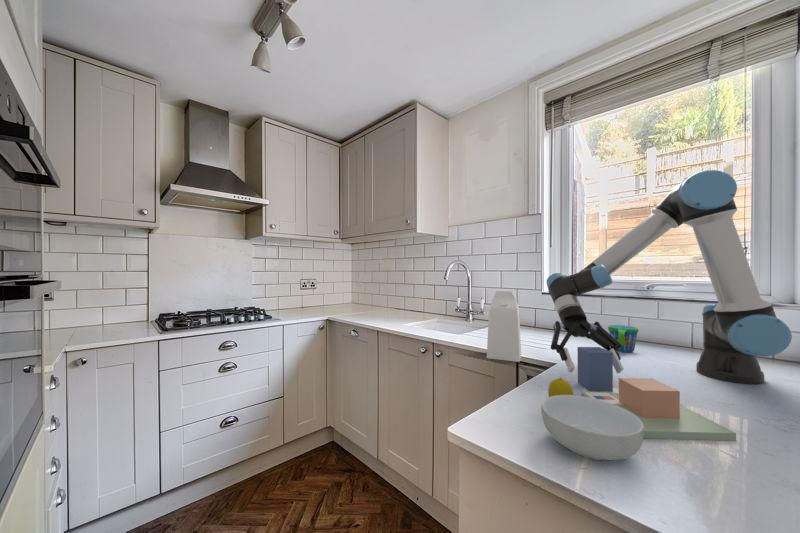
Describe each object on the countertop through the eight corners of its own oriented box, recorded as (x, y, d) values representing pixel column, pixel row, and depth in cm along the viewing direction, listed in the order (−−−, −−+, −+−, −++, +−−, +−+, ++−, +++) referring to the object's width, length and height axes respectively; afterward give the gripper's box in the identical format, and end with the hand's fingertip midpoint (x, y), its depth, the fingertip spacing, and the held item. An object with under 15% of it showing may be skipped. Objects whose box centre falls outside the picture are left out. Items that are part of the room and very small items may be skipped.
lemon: (543, 408, 77) (543, 375, 77) (559, 404, 80) (559, 372, 80) (562, 417, 72) (562, 383, 72) (579, 413, 74) (579, 379, 75)
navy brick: (599, 383, 94) (599, 347, 94) (612, 391, 88) (612, 352, 88) (577, 383, 94) (577, 346, 95) (589, 391, 88) (589, 352, 88)
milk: (521, 354, 127) (520, 290, 127) (519, 361, 116) (519, 292, 116) (490, 351, 132) (490, 289, 132) (486, 358, 121) (486, 291, 121)
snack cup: (612, 345, 142) (612, 323, 142) (641, 349, 134) (641, 326, 134) (603, 351, 131) (603, 327, 131) (634, 356, 123) (634, 330, 123)
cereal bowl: (603, 488, 49) (603, 443, 49) (523, 436, 64) (523, 402, 64) (665, 461, 56) (665, 422, 56) (579, 420, 71) (579, 389, 71)
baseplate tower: (658, 399, 82) (658, 370, 83) (736, 440, 63) (735, 403, 63) (581, 397, 83) (581, 369, 84) (633, 438, 63) (633, 401, 64)
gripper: (603, 318, 107) (634, 377, 92) (529, 317, 108) (548, 375, 93) (613, 304, 102) (647, 365, 87) (535, 304, 103) (555, 363, 88)
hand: (596, 370), depth 90 cm, fingers open, 13 cm apart
